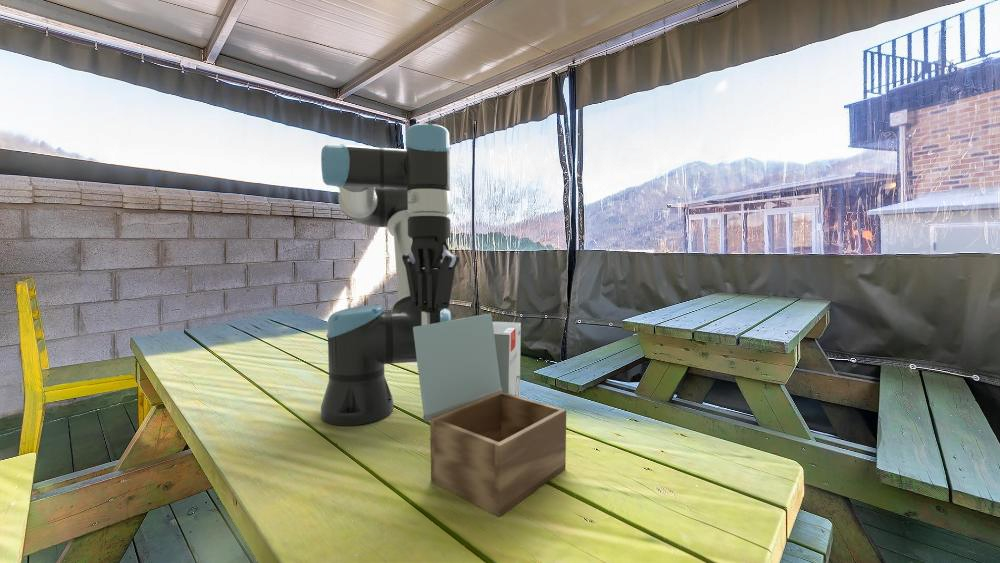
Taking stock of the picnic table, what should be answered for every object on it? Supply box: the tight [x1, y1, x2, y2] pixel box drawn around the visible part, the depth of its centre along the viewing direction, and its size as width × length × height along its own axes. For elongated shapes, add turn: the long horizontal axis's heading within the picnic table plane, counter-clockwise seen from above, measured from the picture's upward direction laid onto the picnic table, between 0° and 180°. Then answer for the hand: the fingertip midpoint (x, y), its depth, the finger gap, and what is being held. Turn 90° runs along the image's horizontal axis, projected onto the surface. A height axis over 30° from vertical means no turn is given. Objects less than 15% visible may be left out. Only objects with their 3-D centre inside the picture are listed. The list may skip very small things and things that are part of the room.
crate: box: [429, 392, 567, 518], centre depth 70 cm, size 14×17×10 cm
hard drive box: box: [492, 321, 522, 397], centre depth 92 cm, size 16×8×20 cm, turn 168°
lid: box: [413, 313, 502, 423], centre depth 74 cm, size 15×18×1 cm
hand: (430, 346), depth 79 cm, fingers closed
